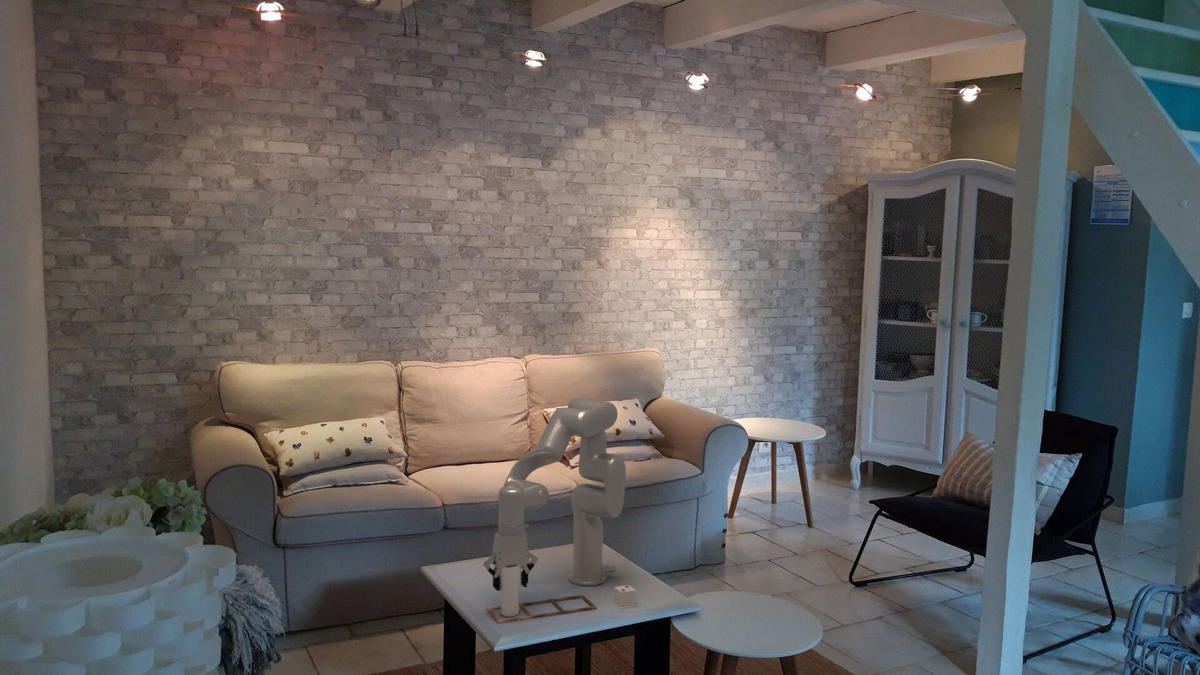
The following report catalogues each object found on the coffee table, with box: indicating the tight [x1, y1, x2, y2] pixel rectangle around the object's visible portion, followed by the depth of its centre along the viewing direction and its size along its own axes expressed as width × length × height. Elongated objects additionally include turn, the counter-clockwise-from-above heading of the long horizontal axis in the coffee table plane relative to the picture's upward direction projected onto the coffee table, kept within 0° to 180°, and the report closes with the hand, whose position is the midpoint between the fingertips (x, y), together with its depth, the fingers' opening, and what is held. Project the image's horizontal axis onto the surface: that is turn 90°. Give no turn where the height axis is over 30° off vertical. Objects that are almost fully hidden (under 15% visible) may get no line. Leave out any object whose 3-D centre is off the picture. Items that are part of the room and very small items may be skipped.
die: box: [613, 584, 637, 608], centre depth 276 cm, size 5×5×5 cm
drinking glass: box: [498, 565, 522, 618], centre depth 266 cm, size 7×7×15 cm
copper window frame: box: [485, 594, 598, 624], centre depth 271 cm, size 31×11×1 cm, turn 114°
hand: (510, 587), depth 266 cm, fingers open, 7 cm apart
